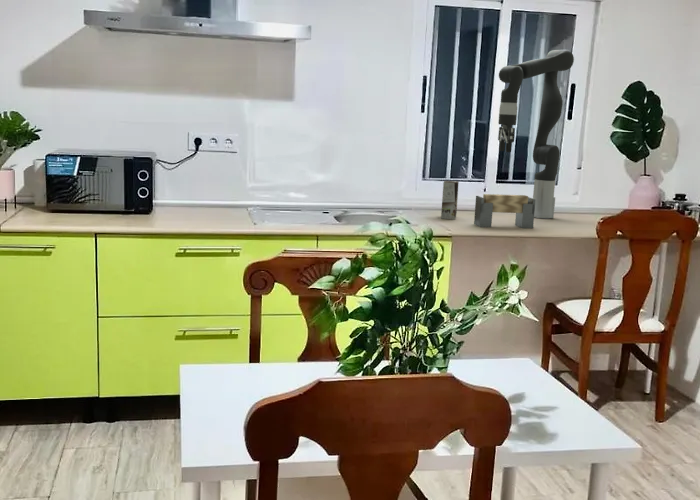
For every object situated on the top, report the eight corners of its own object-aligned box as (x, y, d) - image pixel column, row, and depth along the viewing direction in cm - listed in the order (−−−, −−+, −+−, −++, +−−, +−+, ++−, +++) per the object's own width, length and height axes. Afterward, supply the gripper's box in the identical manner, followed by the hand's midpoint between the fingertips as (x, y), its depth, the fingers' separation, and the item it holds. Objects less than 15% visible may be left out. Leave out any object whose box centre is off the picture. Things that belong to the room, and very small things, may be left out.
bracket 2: (526, 225, 321) (528, 197, 318) (533, 228, 313) (535, 199, 311) (515, 224, 320) (517, 196, 318) (521, 227, 312) (524, 199, 310)
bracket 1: (479, 227, 310) (481, 198, 308) (473, 224, 318) (476, 195, 315) (491, 227, 311) (493, 198, 308) (485, 224, 318) (487, 196, 316)
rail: (523, 211, 317) (524, 195, 316) (526, 213, 313) (528, 196, 312) (482, 210, 315) (483, 194, 314) (485, 212, 311) (486, 195, 310)
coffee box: (455, 219, 328) (457, 182, 325) (440, 218, 330) (442, 181, 327) (456, 216, 337) (459, 180, 334) (442, 215, 338) (444, 180, 335)
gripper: (522, 114, 317) (518, 152, 320) (510, 113, 331) (507, 150, 334) (505, 113, 316) (501, 152, 319) (494, 113, 330) (491, 150, 333)
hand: (505, 151), depth 327 cm, fingers open, 8 cm apart
